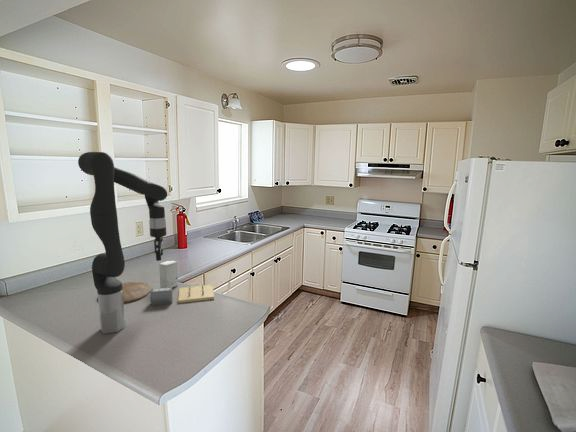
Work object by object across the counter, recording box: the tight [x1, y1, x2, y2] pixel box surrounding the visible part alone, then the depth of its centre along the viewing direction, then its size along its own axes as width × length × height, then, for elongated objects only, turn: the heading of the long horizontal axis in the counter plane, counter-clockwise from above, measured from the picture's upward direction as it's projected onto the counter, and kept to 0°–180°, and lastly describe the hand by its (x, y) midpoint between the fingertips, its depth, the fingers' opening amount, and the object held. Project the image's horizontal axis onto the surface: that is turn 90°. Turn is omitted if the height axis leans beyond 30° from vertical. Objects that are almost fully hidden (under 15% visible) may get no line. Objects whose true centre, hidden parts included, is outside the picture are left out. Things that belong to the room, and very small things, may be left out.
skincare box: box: [158, 260, 179, 289], centre depth 174 cm, size 8×6×15 cm
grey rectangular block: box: [149, 287, 174, 306], centre depth 155 cm, size 4×10×7 cm, turn 107°
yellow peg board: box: [177, 284, 215, 304], centre depth 165 cm, size 16×18×4 cm
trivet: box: [122, 281, 152, 304], centre depth 165 cm, size 25×25×2 cm
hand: (159, 257), depth 151 cm, fingers open, 8 cm apart
